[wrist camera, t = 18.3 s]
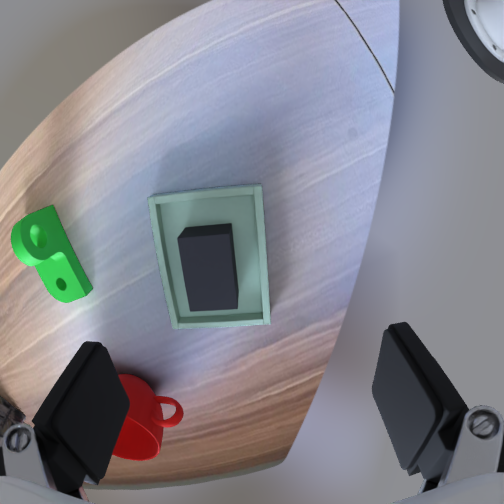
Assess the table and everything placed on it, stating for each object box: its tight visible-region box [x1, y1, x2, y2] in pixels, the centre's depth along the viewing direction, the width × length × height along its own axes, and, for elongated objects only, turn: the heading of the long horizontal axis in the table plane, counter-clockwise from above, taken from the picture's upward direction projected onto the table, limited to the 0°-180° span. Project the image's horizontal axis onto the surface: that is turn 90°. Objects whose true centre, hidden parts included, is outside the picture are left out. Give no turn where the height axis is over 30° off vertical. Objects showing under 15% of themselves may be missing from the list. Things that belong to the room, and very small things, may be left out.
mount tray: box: [147, 184, 271, 329], centre depth 32 cm, size 12×16×2 cm
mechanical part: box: [11, 205, 93, 303], centre depth 29 cm, size 12×6×8 cm, turn 20°
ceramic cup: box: [112, 374, 183, 461], centre depth 35 cm, size 13×17×10 cm
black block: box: [177, 223, 239, 312], centre depth 31 cm, size 5×8×4 cm, turn 4°
